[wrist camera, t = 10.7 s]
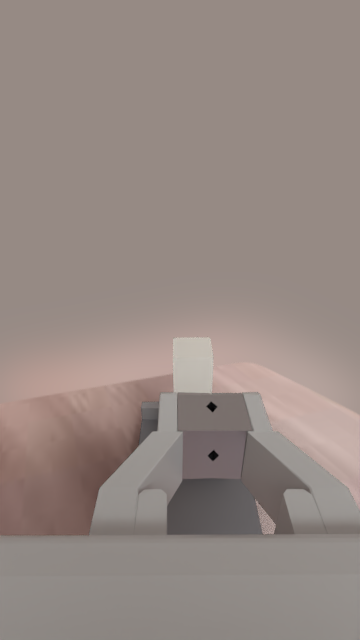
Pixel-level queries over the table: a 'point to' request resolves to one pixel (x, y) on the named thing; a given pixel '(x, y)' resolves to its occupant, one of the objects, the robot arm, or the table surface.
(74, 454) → the table surface
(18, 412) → the table surface
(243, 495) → the track board
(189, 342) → the fader
